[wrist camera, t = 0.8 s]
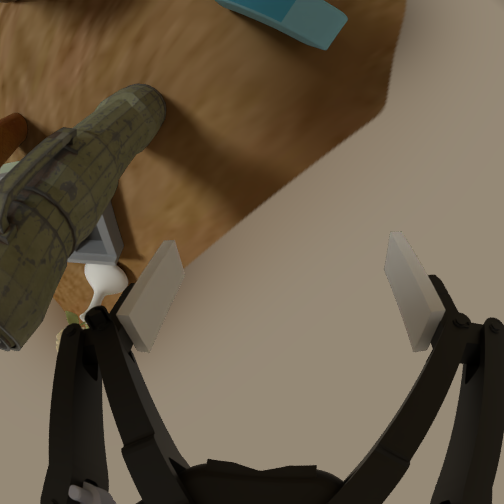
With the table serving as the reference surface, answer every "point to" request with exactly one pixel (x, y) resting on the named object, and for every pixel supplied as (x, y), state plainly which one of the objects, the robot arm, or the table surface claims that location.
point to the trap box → (93, 237)
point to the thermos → (64, 201)
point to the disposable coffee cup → (11, 135)
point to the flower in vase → (99, 289)
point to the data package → (294, 18)
